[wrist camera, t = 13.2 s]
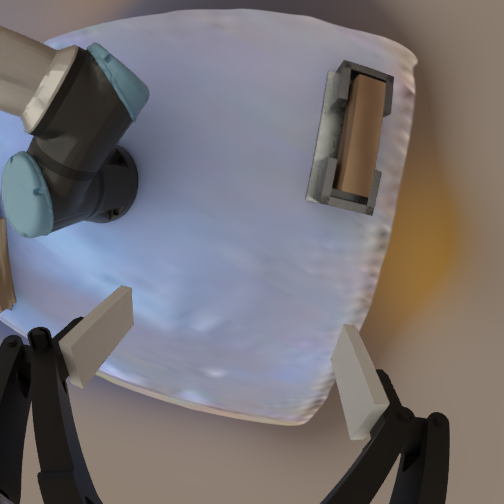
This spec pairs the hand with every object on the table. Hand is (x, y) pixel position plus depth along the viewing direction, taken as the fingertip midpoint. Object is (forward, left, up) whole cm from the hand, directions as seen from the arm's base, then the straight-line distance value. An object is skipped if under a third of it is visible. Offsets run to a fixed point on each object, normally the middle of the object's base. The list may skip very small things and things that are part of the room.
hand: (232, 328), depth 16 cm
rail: (+12, +17, -28) cm, 34 cm away
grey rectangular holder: (+12, +17, -32) cm, 38 cm away
